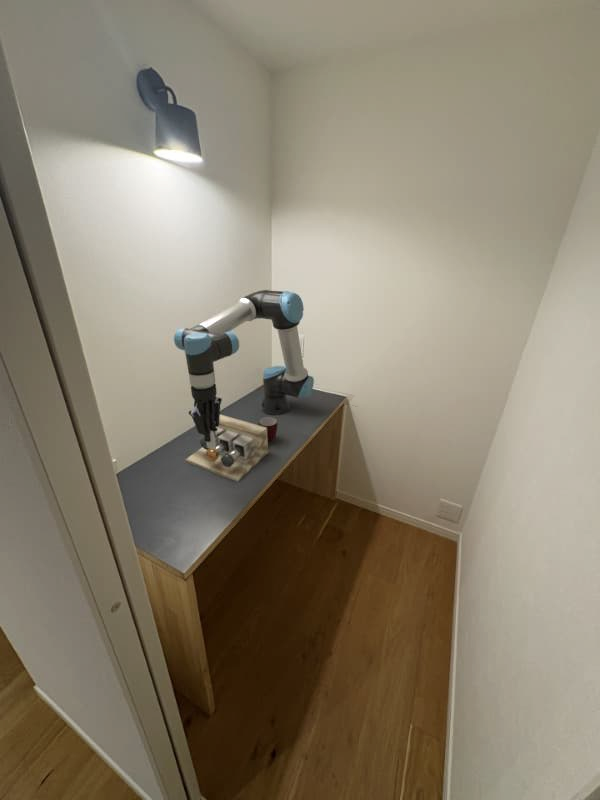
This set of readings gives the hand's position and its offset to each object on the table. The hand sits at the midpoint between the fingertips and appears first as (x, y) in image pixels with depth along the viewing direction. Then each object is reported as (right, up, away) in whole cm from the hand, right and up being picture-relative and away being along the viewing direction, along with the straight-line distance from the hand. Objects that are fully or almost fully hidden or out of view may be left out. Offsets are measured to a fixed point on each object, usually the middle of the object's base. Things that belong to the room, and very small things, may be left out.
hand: (211, 447), depth 108 cm
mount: (0, -7, +23) cm, 24 cm away
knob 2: (+5, -7, +14) cm, 16 cm away
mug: (+16, -3, +33) cm, 37 cm away
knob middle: (-2, -6, +17) cm, 18 cm away
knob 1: (-6, -2, +24) cm, 25 cm away
